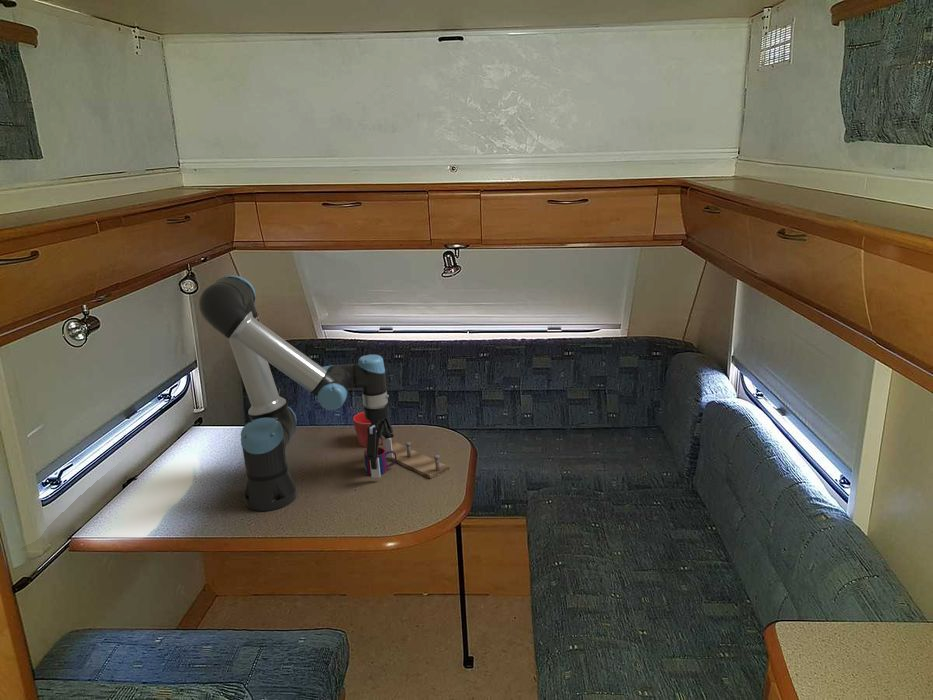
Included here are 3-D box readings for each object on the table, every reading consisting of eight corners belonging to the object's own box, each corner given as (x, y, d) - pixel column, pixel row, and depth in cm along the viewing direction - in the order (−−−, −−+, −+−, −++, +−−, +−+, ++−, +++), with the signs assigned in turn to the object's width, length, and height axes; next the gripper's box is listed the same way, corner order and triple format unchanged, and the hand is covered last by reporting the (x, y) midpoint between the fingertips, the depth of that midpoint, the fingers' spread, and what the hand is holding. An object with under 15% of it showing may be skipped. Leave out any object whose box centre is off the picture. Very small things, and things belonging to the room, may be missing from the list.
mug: (366, 467, 218) (364, 447, 216) (397, 464, 218) (396, 445, 216) (365, 476, 211) (363, 457, 209) (397, 474, 212) (395, 454, 210)
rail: (372, 450, 229) (370, 434, 227) (390, 443, 234) (389, 427, 232) (430, 479, 208) (429, 461, 206) (449, 470, 213) (448, 452, 211)
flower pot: (392, 438, 238) (389, 412, 235) (375, 451, 229) (373, 424, 226) (366, 434, 242) (363, 408, 239) (349, 446, 233) (346, 420, 230)
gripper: (375, 421, 196) (382, 486, 202) (398, 390, 219) (404, 449, 225) (350, 421, 197) (358, 485, 203) (376, 390, 221) (382, 449, 227)
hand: (382, 467), depth 214 cm, fingers open, 13 cm apart
